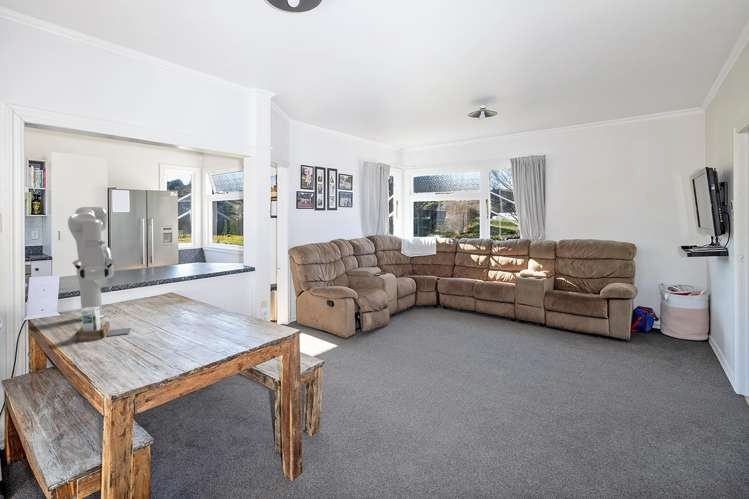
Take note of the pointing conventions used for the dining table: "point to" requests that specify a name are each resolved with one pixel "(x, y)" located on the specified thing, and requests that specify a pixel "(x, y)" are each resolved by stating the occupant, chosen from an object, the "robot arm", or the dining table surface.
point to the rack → (92, 333)
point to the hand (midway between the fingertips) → (94, 277)
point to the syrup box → (91, 319)
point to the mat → (119, 332)
